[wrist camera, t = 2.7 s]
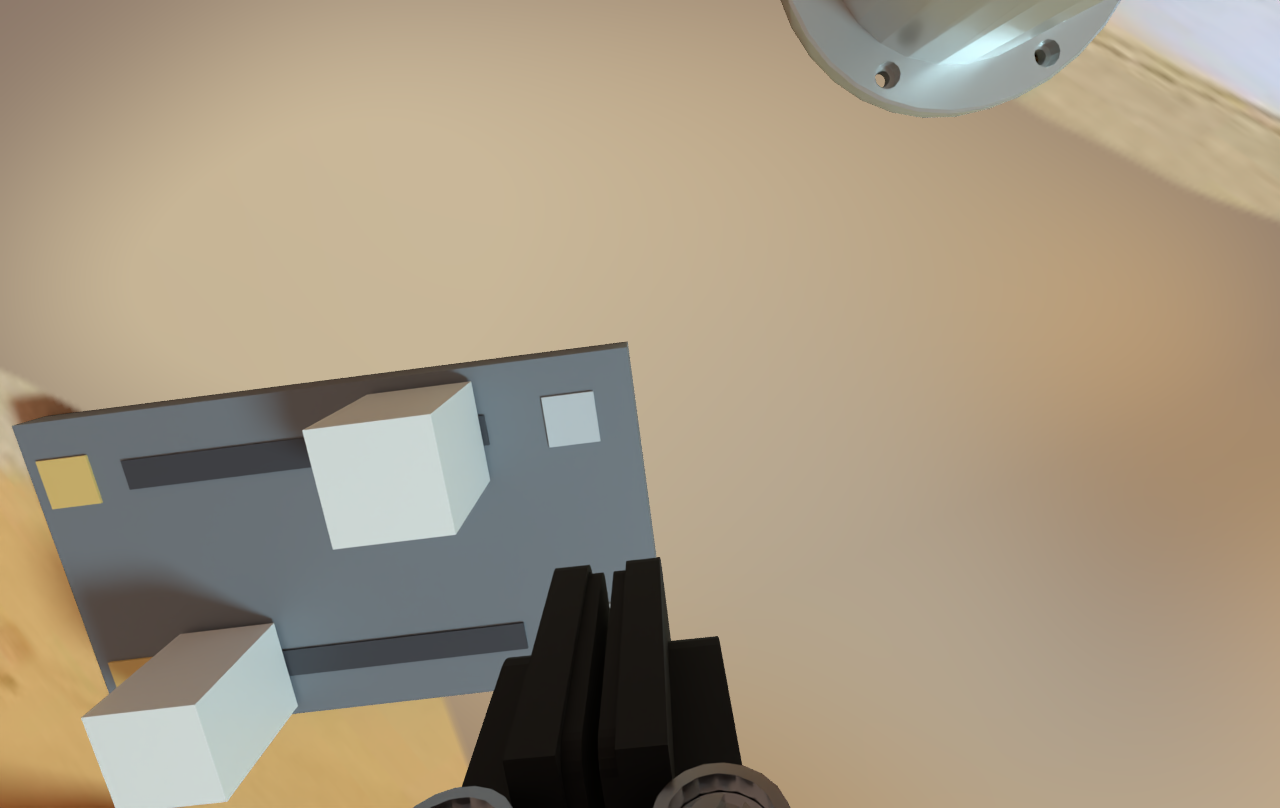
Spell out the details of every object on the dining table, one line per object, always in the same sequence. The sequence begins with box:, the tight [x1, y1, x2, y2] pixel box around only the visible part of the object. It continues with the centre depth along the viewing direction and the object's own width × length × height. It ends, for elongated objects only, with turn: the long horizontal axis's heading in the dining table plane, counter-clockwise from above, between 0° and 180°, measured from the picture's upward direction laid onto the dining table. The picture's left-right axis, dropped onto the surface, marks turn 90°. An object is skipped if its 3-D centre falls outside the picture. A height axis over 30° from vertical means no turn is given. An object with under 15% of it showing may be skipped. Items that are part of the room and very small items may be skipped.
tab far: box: [81, 623, 298, 808], centre depth 25 cm, size 4×4×5 cm
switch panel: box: [12, 342, 656, 714], centre depth 28 cm, size 24×14×2 cm, turn 97°
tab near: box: [302, 381, 490, 550], centre depth 23 cm, size 4×4×5 cm
